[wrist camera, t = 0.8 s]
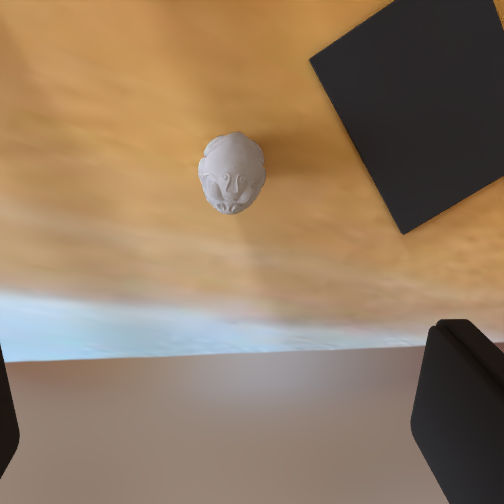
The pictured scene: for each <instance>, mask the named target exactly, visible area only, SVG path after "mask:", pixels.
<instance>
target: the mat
mask: <svg viewBox="0 0 504 504" xmlns="http://www.w3.org/2000/svg"><path fill="white" fill-rule="evenodd" d="M309 61H310V63H311V65H312V67H313V68H314V70H315V72H316V74H317V76H318V78H319V80H320V82H321V83H322V85H323V87H324V89H325V91H326V93H327V95H328V96H329V98H330V100H331V102H332V104H333V106H334V108H335V110H336V111H337V113H338V115H339V117H340V119H341V121H342V123H343V125H344V126H345V128H346V130H347V132H348V134H349V136H350V138H351V140H352V141H353V143H354V145H355V147H356V149H357V151H358V153H359V155H360V156H361V158H362V160H363V162H364V164H365V166H366V168H367V170H368V171H369V173H370V175H371V177H372V179H373V181H374V183H375V185H376V186H377V188H378V190H379V192H380V194H381V196H382V198H383V199H384V201H385V203H386V205H387V207H388V209H389V211H390V213H391V214H392V216H393V218H394V220H395V222H396V224H397V226H398V228H399V229H400V231H401V233H402V234H403V235H404V234H406V233H408V232H409V231H411V230H413V229H414V228H416V227H418V226H419V225H421V224H423V223H424V222H426V221H428V220H430V219H431V218H433V217H435V216H436V215H438V214H440V213H441V212H443V211H445V210H446V209H448V208H450V207H451V206H453V205H455V204H457V203H458V202H460V201H462V200H463V199H465V198H467V197H468V196H470V195H472V194H473V193H475V192H477V191H478V190H480V189H482V188H483V187H485V186H487V185H489V184H490V183H492V182H494V181H495V180H497V179H499V178H500V177H502V176H504V30H503V27H502V25H501V22H500V19H499V16H498V13H497V11H496V8H495V5H494V2H493V0H395V1H393V2H392V3H391V4H389V5H388V6H386V7H385V8H383V9H382V10H380V11H379V12H377V13H376V14H374V15H373V16H372V17H370V18H369V19H367V20H366V21H364V22H363V23H361V24H360V25H358V26H357V27H355V28H354V29H352V30H351V31H350V32H348V33H347V34H345V35H344V36H342V37H341V38H339V39H338V40H336V41H335V42H333V43H332V44H331V45H329V46H328V47H326V48H325V49H323V50H322V51H320V52H319V53H317V54H316V55H314V56H313V57H312V58H310V59H309Z"/></svg>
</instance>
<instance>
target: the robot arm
mask: <svg viewBox="0 0 504 504" xmlns="http://www.w3.org/2000/svg"><path fill="white" fill-rule="evenodd" d="M411 431H412V434H413V437H414V439H415V441H416V443H417V445H418V447H419V448H420V450H421V452H422V454H423V456H424V458H425V459H426V461H427V463H428V465H429V467H430V469H431V471H432V472H433V474H434V476H435V478H436V480H437V482H438V483H439V485H440V487H441V489H442V491H443V493H444V494H445V496H446V498H447V500H448V502H449V504H504V353H503V352H502V351H501V350H500V349H499V348H498V347H497V346H496V345H494V344H493V343H492V342H491V341H490V340H489V339H488V338H487V337H486V336H485V335H484V334H483V333H482V332H481V331H480V330H479V329H478V328H477V327H476V326H475V325H474V324H472V323H471V322H470V321H469V320H467V319H441V320H439V321H438V322H437V324H436V326H432V327H431V328H430V329H429V332H428V337H427V342H426V347H425V352H424V357H423V362H422V367H421V371H420V376H419V381H418V386H417V391H416V396H415V401H414V406H413V411H412V416H411ZM19 437H20V434H19V427H18V423H17V418H16V413H15V409H14V405H13V400H12V395H11V391H10V387H9V382H8V377H7V373H6V368H5V364H4V359H3V355H2V350H1V345H0V479H1V477H2V475H3V473H4V471H5V469H6V468H7V466H8V464H9V463H10V461H11V459H12V457H13V455H14V454H15V452H16V449H17V447H18V444H19Z"/></svg>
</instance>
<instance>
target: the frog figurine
mask: <svg viewBox="0 0 504 504" xmlns="http://www.w3.org/2000/svg"><path fill="white" fill-rule="evenodd" d="M204 156H205V157H204V158H202V159H201V160H200V163H199V168H198V175H199V179H200V181H201V182H202V188H203V191H204V194H205V197H206V199H207V200H208V201H209V203H210V204H211V205H212V206H213V207H214V208H216V209H217V210H218V211H220V212H221V213H224V214H237V213H239V212H241V211H243V210H244V209H246V208H247V207H249V206H250V205H251V204H252V203H253V201H254V200H255V199H256V198H257V196H258V194H259V192H260V190H261V188H262V186H263V185H264V182H265V178H266V170H265V168H264V167H263V166H262V165H263V164H264V162H265V160H264V155H263V152H262V149H261V148H260V146H259V145H258V144H257V143H256V142H254V141H253V140H250V139H249V138H248V137H247V136H245V135H244V134H242V133H240V132H234V133H230V134H228V135H226V136H224V135H222V136H218V137H216V138H215V139H213V140H212V141H211V142H210V143H209V144H208V145H207V147H206V149H205V151H204Z"/></svg>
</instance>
